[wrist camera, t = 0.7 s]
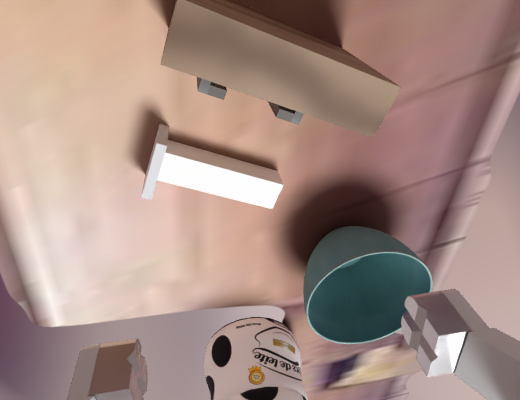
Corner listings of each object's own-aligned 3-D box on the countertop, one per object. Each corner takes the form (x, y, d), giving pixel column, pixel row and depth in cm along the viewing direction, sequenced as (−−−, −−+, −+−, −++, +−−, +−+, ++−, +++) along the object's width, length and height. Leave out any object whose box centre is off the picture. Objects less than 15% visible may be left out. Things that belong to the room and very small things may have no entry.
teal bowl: (351, 298, 73) (377, 355, 63) (267, 269, 66) (282, 328, 56) (416, 224, 66) (458, 276, 56) (330, 183, 59) (360, 233, 49)
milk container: (298, 304, 72) (328, 399, 57) (289, 364, 81) (312, 459, 66) (202, 311, 69) (206, 413, 54) (203, 372, 78) (207, 474, 63)
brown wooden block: (181, -20, 42) (178, -3, 29) (342, 48, 48) (401, 87, 35) (161, 58, 46) (150, 104, 32) (313, 111, 52) (355, 168, 39)
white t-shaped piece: (145, 174, 53) (141, 197, 48) (159, 123, 50) (156, 143, 45) (262, 203, 59) (269, 227, 54) (282, 159, 56) (292, 181, 51)
